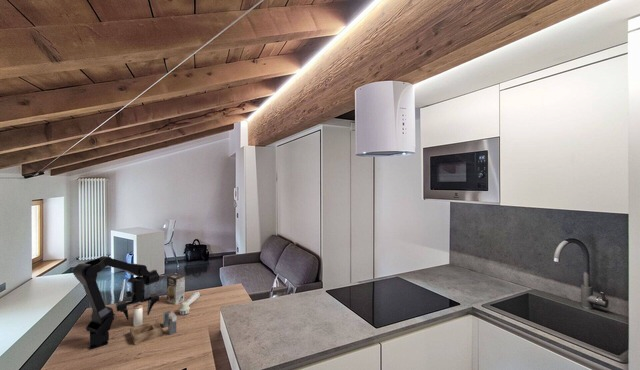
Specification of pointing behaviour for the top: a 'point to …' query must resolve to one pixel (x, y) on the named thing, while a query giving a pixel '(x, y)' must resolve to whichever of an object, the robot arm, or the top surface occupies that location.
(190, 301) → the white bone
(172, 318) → the lock bolt
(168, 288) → the coffee box
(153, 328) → the socket block
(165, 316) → the bolt mount
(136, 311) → the white cylinder
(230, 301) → the top surface
